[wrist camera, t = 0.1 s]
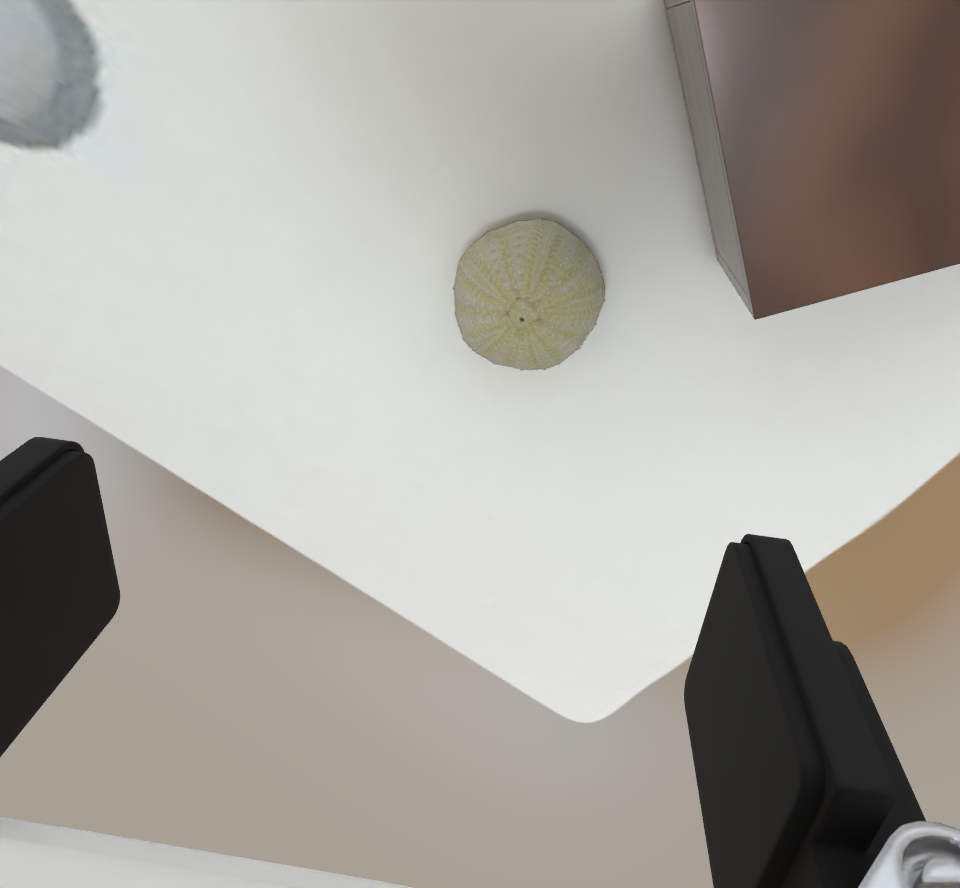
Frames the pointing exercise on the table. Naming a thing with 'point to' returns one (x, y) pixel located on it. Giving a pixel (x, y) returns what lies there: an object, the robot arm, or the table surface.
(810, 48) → the cabinet
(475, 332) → the sea urchin shell
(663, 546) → the table surface
